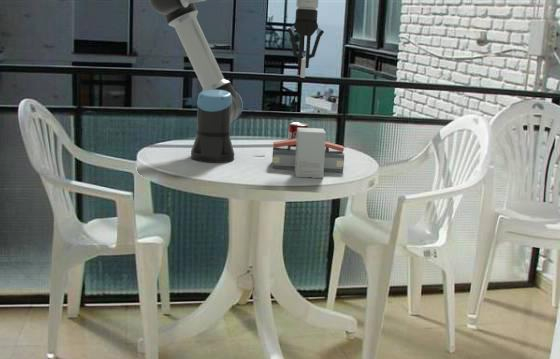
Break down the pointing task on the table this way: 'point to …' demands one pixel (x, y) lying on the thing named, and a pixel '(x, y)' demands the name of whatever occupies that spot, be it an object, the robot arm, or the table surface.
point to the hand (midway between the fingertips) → (302, 77)
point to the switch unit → (286, 155)
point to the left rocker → (284, 143)
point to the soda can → (295, 130)
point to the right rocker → (334, 146)
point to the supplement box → (310, 152)
